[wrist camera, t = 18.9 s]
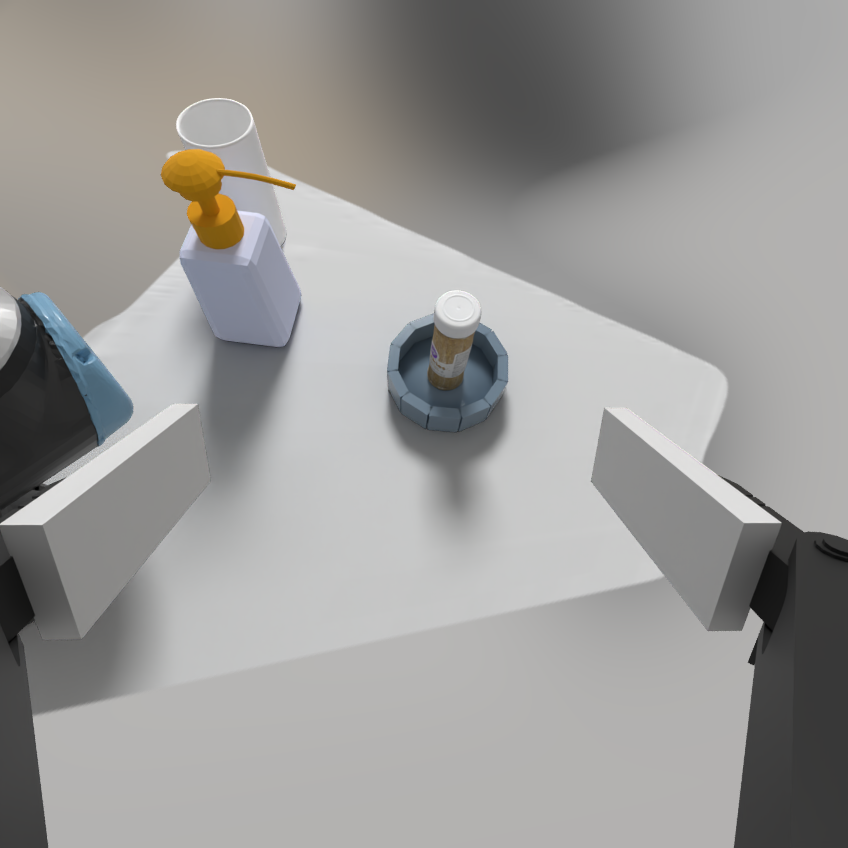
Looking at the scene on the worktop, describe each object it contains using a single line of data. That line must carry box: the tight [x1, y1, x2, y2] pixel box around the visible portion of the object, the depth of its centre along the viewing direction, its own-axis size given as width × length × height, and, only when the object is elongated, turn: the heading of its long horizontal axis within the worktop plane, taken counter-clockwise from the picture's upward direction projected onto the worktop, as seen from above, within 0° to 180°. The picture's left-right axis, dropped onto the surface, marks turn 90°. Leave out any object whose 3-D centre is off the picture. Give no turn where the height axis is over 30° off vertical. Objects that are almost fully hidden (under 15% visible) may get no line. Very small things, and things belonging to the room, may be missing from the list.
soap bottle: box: [161, 149, 302, 347], centre depth 49 cm, size 10×14×22 cm
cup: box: [176, 98, 286, 246], centre depth 57 cm, size 8×8×16 cm
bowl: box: [387, 313, 508, 432], centre depth 55 cm, size 14×14×4 cm
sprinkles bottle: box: [427, 290, 481, 390], centre depth 49 cm, size 5×5×14 cm
